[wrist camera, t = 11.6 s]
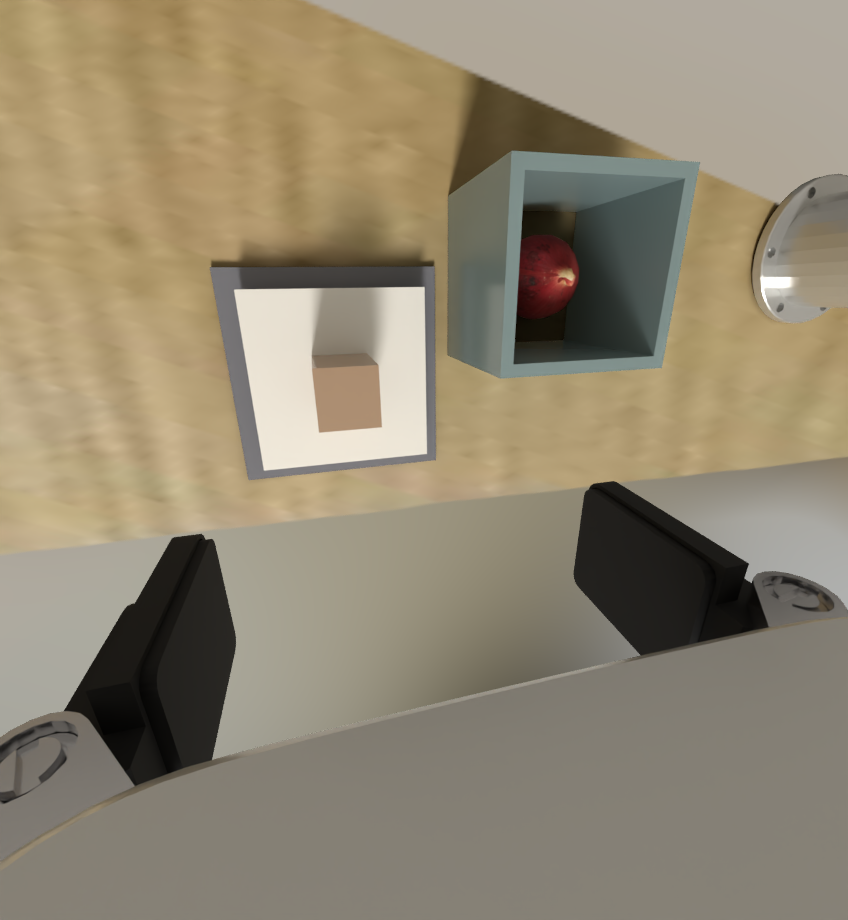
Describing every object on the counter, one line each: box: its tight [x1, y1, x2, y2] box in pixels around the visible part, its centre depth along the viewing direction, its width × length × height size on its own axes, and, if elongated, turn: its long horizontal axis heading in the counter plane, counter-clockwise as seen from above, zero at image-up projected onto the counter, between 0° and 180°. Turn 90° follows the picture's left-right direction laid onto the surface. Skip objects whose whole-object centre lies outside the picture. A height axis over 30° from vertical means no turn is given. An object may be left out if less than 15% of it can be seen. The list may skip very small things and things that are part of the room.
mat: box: [210, 267, 436, 480], centre depth 34 cm, size 16×16×1 cm
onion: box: [516, 235, 579, 319], centre depth 31 cm, size 6×6×8 cm
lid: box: [234, 287, 427, 471], centre depth 30 cm, size 13×13×8 cm
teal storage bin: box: [448, 151, 700, 378], centre depth 30 cm, size 12×12×11 cm
